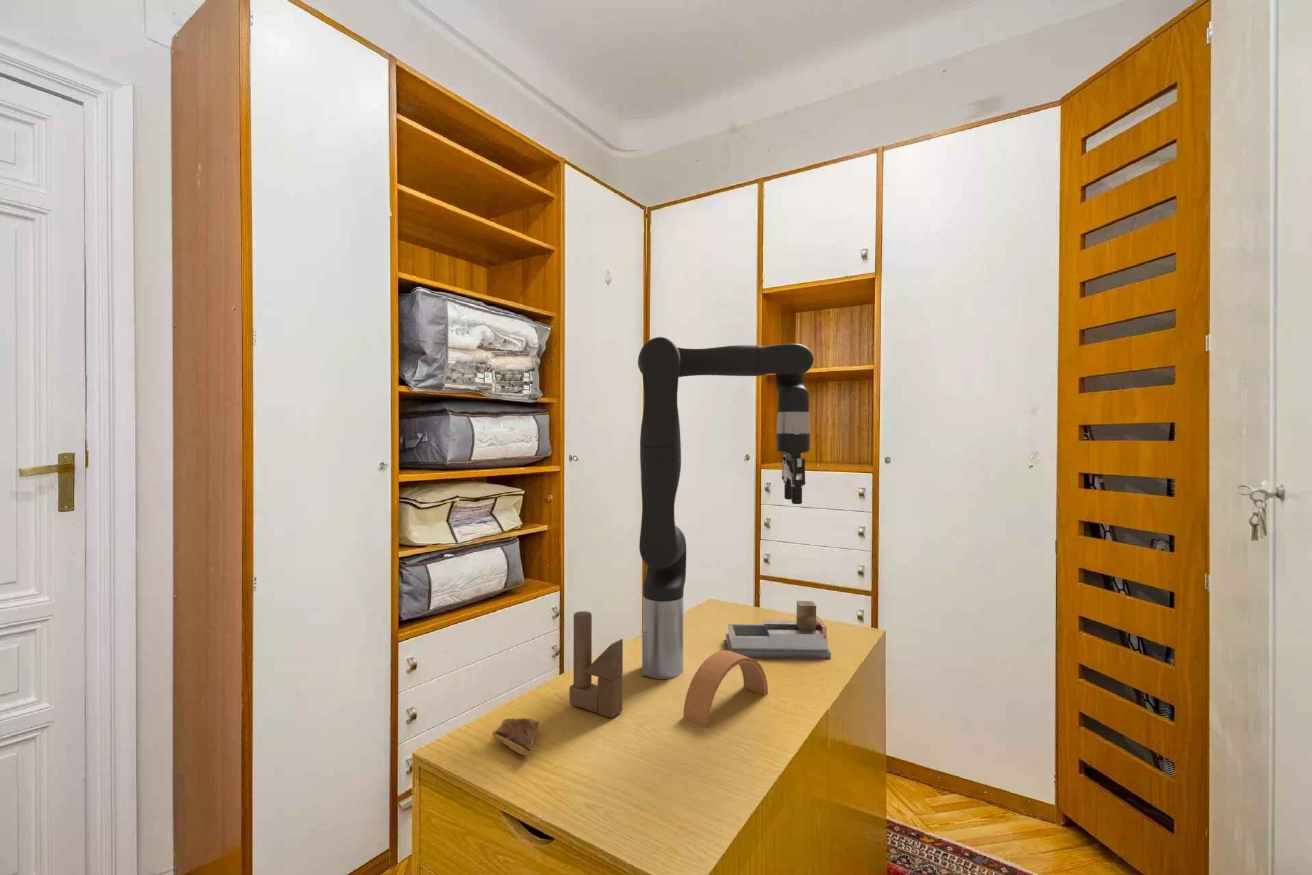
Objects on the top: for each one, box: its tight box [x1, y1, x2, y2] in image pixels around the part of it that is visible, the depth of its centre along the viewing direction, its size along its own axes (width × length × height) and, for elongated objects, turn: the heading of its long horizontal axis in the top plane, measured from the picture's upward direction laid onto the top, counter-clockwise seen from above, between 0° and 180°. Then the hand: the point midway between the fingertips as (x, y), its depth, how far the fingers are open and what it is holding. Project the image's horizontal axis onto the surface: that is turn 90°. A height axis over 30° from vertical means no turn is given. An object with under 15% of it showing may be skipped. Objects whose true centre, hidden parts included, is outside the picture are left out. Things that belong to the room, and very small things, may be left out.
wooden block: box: [568, 610, 624, 719], centre depth 114 cm, size 4×11×18 cm, turn 57°
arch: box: [682, 649, 769, 729], centre depth 115 cm, size 6×20×10 cm, turn 135°
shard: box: [492, 718, 540, 758], centre depth 100 cm, size 11×8×2 cm
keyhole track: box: [725, 615, 832, 660], centre depth 145 cm, size 24×12×7 cm, turn 88°
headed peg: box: [796, 600, 817, 630], centre depth 145 cm, size 6×6×10 cm
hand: (792, 501), depth 135 cm, fingers open, 8 cm apart
